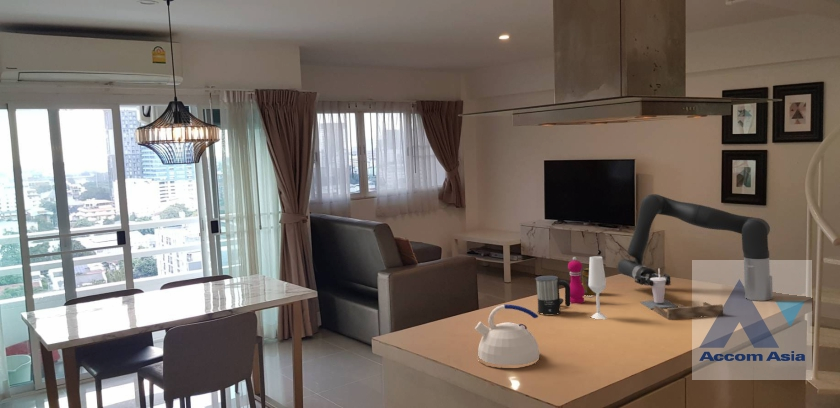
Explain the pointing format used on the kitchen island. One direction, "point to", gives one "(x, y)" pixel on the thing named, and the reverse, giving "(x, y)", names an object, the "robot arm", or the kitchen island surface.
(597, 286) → the champagne flute
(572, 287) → the pepper mill
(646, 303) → the slate mat
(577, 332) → the kitchen island surface
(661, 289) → the smoothie
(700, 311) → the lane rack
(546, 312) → the milk frother
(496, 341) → the kettle
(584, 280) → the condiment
